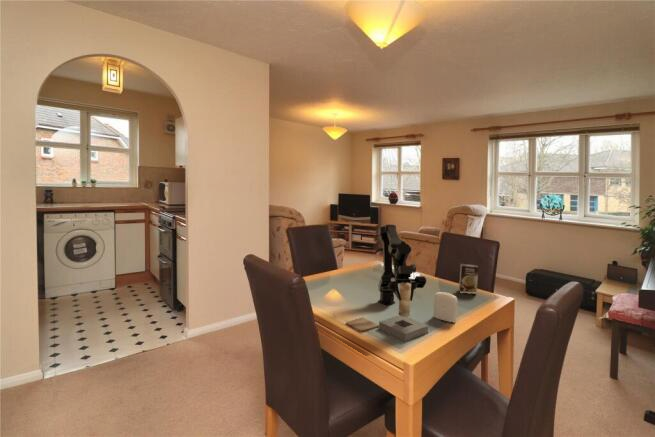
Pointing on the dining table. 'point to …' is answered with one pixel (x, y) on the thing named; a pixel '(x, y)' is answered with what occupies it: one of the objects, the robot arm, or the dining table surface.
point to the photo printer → (445, 306)
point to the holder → (403, 327)
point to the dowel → (404, 299)
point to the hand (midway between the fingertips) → (405, 300)
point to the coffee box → (468, 278)
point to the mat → (362, 324)
